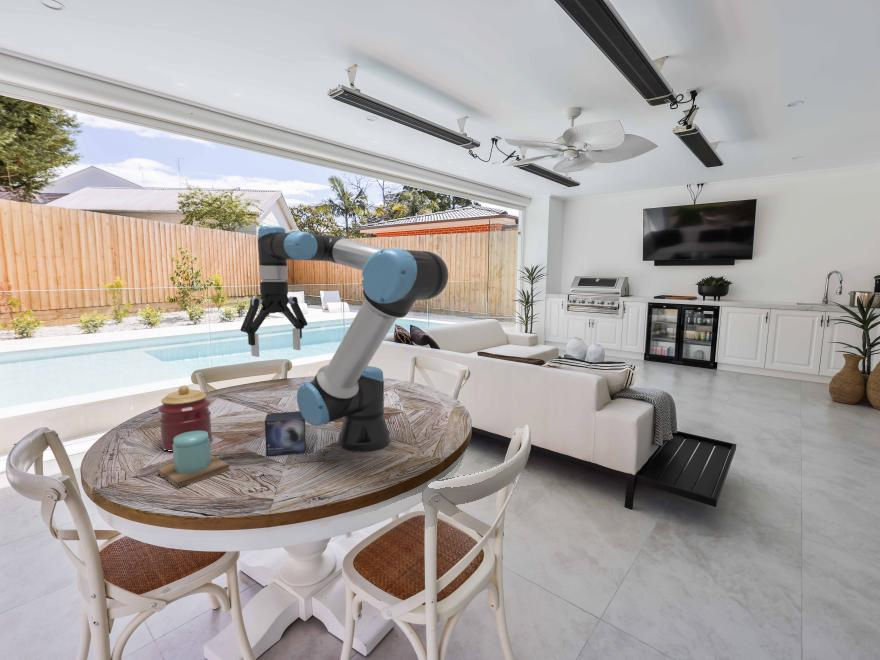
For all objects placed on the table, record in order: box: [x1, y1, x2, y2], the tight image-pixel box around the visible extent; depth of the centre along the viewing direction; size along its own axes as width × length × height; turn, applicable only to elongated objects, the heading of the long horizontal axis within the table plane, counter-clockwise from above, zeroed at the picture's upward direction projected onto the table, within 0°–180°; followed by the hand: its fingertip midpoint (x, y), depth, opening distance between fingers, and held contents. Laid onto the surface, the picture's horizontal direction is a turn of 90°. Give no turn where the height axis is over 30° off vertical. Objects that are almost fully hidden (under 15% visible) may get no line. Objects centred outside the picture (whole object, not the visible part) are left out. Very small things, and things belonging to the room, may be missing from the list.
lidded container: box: [172, 431, 212, 473], centre depth 106 cm, size 8×8×8 cm
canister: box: [157, 385, 213, 451], centre depth 123 cm, size 13×13×18 cm
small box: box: [264, 410, 307, 457], centre depth 120 cm, size 11×6×10 cm, turn 106°
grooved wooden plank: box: [156, 454, 230, 488], centre depth 106 cm, size 12×12×8 cm
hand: (277, 352), depth 125 cm, fingers open, 13 cm apart
